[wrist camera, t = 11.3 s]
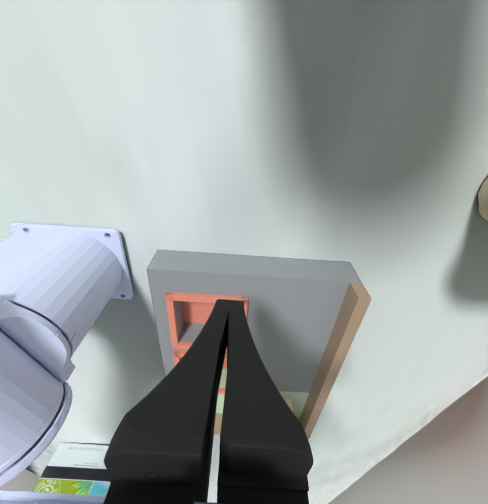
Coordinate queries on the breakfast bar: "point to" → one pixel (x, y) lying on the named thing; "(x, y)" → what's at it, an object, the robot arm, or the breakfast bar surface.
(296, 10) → the breakfast bar surface
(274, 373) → the box
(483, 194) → the flower pot
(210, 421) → the robot arm
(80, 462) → the tea box
